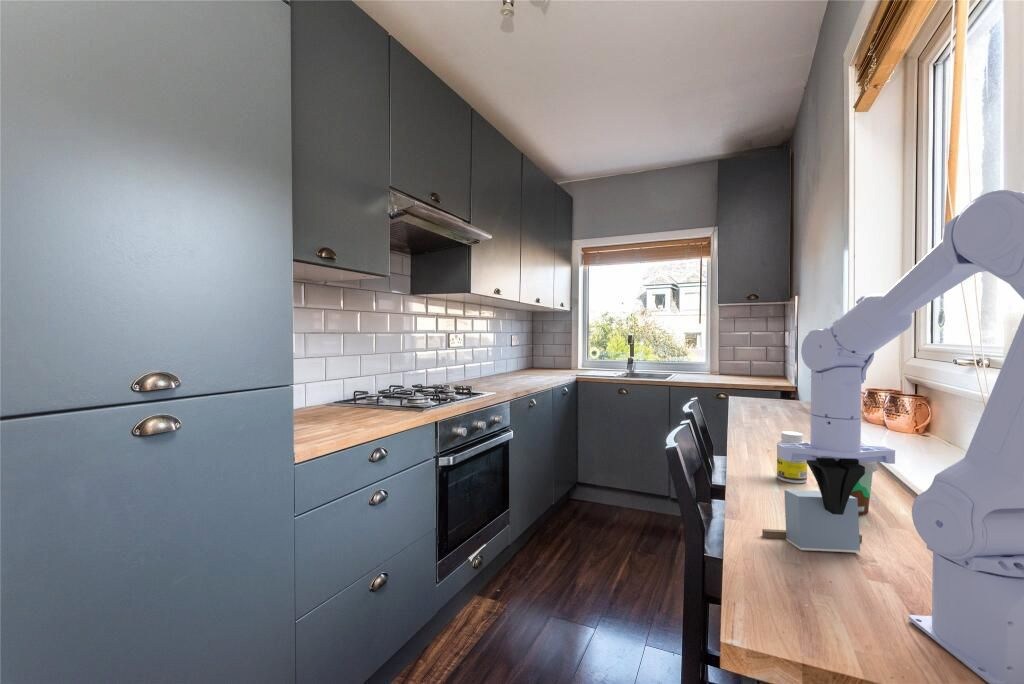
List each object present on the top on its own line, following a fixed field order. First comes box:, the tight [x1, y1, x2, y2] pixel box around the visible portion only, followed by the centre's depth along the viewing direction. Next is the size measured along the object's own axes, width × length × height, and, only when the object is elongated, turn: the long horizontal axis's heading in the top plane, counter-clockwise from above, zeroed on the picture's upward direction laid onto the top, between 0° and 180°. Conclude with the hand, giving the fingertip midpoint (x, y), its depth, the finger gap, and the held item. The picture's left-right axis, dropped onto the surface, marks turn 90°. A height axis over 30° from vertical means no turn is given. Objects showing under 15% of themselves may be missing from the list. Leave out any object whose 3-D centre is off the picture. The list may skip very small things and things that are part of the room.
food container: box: [850, 462, 879, 517], centre depth 81 cm, size 12×6×10 cm, turn 168°
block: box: [784, 489, 861, 554], centre depth 66 cm, size 4×8×8 cm, turn 85°
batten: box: [761, 528, 863, 543], centre depth 68 cm, size 1×14×1 cm, turn 85°
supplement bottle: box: [776, 430, 808, 484], centre depth 96 cm, size 6×6×10 cm
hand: (833, 511), depth 63 cm, fingers closed
